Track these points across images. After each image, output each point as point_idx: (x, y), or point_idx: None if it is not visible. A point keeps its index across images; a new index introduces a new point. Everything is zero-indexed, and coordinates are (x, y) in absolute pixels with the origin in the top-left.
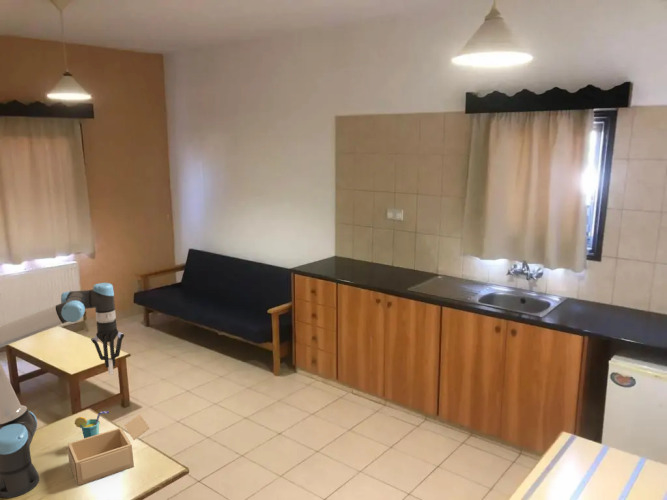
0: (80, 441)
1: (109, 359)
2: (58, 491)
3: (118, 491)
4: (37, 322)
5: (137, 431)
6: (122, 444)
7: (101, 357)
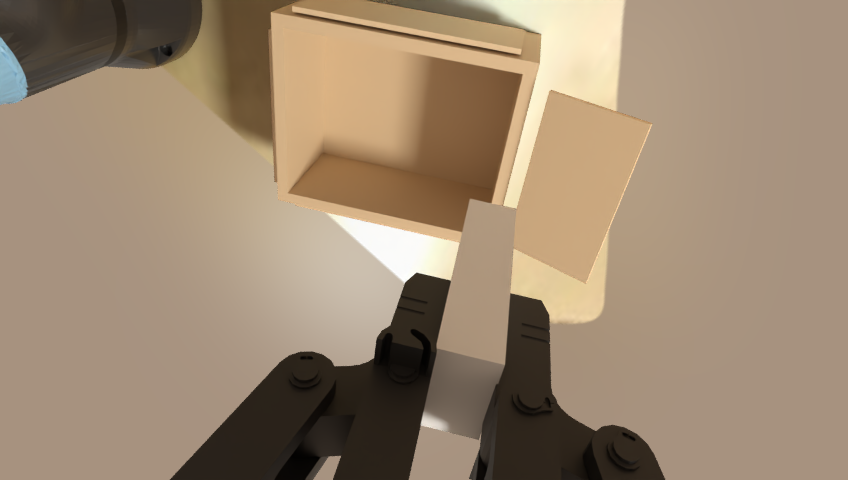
0: (327, 35)
1: (448, 405)
2: (258, 135)
3: (405, 268)
4: None
5: (546, 228)
6: (516, 94)
7: (283, 467)
